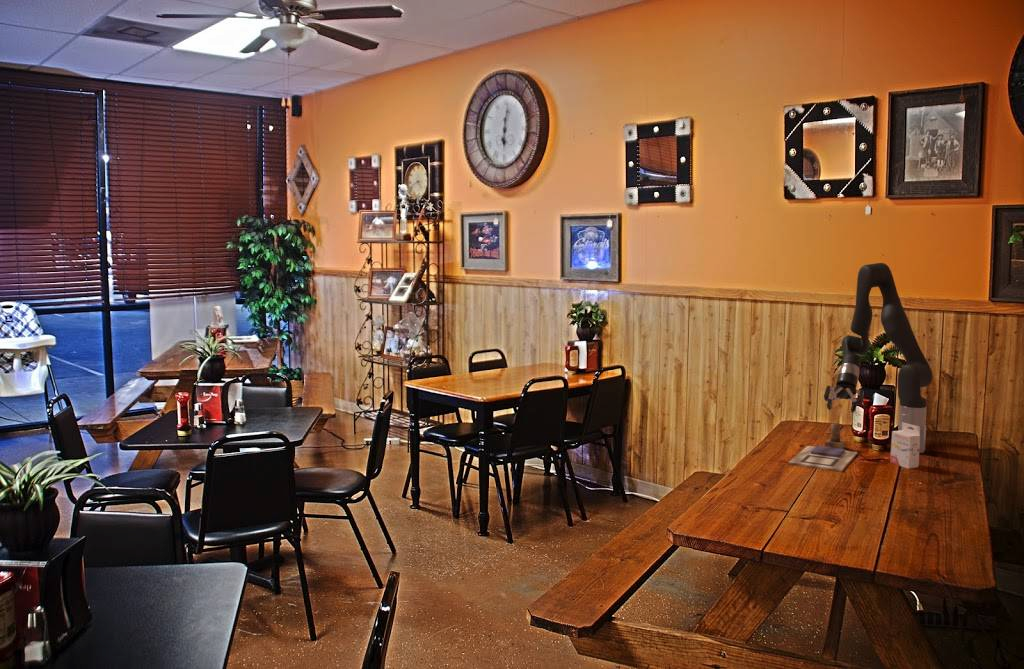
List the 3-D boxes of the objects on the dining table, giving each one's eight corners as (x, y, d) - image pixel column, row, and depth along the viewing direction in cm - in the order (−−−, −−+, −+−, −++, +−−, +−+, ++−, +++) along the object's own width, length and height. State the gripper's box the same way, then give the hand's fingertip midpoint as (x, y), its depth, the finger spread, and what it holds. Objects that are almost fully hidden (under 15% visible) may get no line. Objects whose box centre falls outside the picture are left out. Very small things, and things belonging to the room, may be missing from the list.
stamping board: (857, 454, 313) (857, 449, 313) (841, 471, 289) (841, 466, 289) (807, 447, 323) (807, 443, 322) (788, 464, 299) (788, 459, 299)
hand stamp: (844, 447, 323) (845, 423, 322) (841, 451, 318) (842, 426, 317) (828, 445, 326) (829, 422, 325) (824, 448, 321) (826, 424, 320)
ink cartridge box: (889, 462, 301) (891, 422, 299) (899, 461, 303) (902, 421, 301) (908, 469, 293) (910, 427, 291) (919, 467, 295) (921, 426, 293)
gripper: (828, 370, 336) (820, 402, 328) (866, 373, 329) (859, 406, 321) (830, 381, 342) (822, 413, 333) (868, 384, 334) (861, 417, 326)
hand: (840, 410), depth 327 cm, fingers open, 8 cm apart
